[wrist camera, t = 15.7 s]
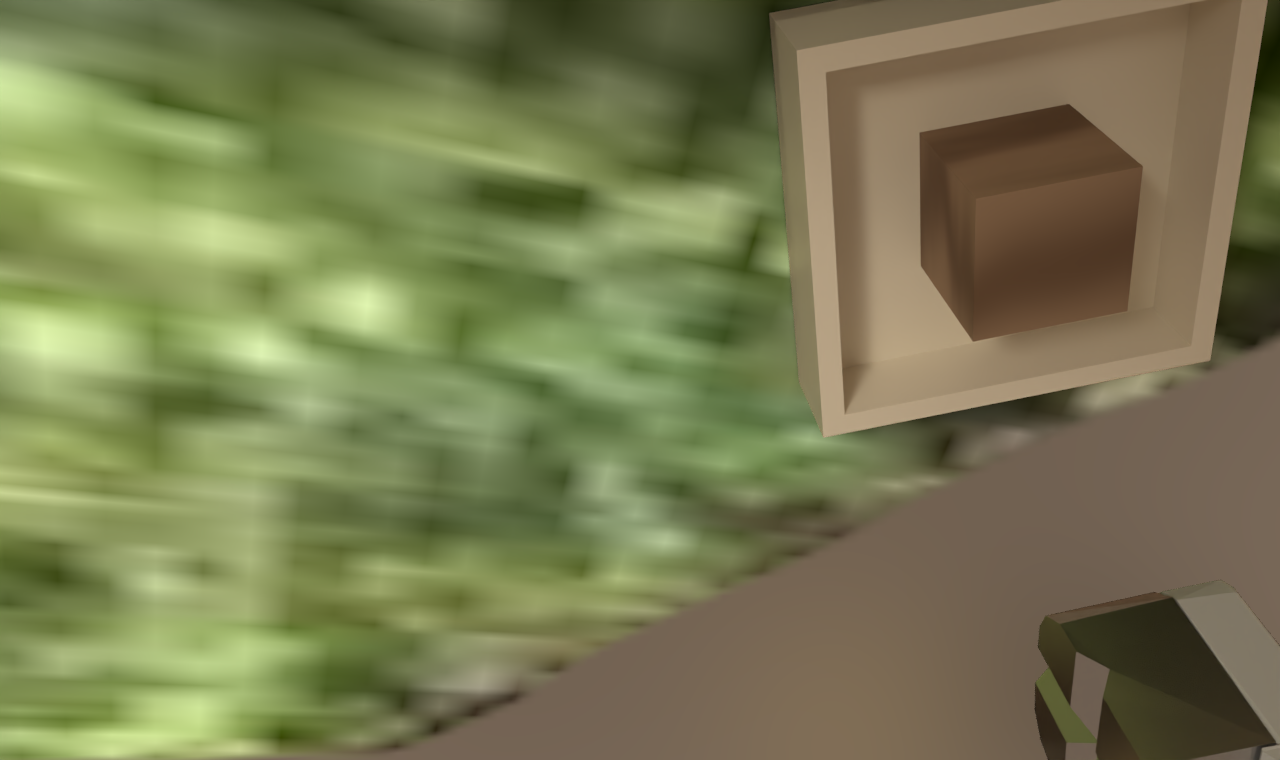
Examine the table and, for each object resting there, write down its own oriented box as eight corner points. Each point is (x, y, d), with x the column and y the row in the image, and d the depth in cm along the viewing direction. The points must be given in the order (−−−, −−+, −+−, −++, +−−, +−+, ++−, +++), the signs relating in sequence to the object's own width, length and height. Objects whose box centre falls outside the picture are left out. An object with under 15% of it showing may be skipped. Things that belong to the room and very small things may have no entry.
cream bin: (769, 13, 37) (796, 50, 34) (1209, -70, 37) (1274, -40, 34) (798, 381, 45) (823, 437, 42) (1161, 310, 45) (1210, 360, 42)
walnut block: (919, 132, 39) (975, 198, 34) (1069, 103, 39) (1142, 166, 35) (920, 265, 41) (972, 341, 37) (1059, 238, 42) (1127, 311, 37)
